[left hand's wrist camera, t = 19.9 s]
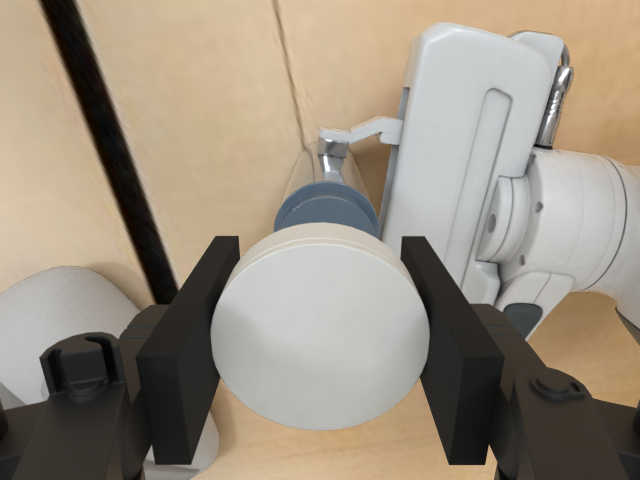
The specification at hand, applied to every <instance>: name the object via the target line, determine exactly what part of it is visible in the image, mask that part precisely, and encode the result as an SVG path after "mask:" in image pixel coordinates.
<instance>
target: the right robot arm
mask: <svg viewBox="0 0 640 480" xmlns="http://www.w3.org/2000/svg"><path fill="white" fill-rule="evenodd" d="M560 58H561V66H558V64H559V61H560ZM569 63H570V56H569V51H568V48H567V46H566V45H565V43H564V42H563V40H562V39H561V38H559V37H557V36H556V35H553V34H550V33H543V32H536V31H529V30H522V31H517V32H515V33H512V34H510V35H509V36H507V37H505V36H502V35H499V34H496V33H493V32H489V31H486V30H482V29H478V28H474V27H470V26H466V25H461V24H456V23H450V22H438V23H434V24H432V25H430V26H428V27H426V28H425V29H424V30H422V31H421V32H420V33H419V34H417V35H416V36H415V37H414V38H413V39H412V41H411V44H410V48H409V54H408V59H407V65H406V70H405V76H404V81H403V87H402V92H401V97H400V103H399V108H398V114H397V118H394V117H386V116H376V117H374V118H372V119H369V120H367V121H365V122H362V123H360V124H358V125H355V126H353V127H351V128H349V130H343V129H335V128H328V127H320V130H319V137H318V146H317V154H319V155H324V156H329V155H331V154H333V155H334V156H335V157H339V158H346V157H347V151H348V145H350V144H353V143H355V142H358V141H360V140H362V139H365V138H367V137H370V136H372V135H375V134H376V138H377V139H378V140H379V141H380V142H381V143H386V144H392V147H391V152H390V158H389V163H388V169H387V174H386V179H385V185H384V190H383V196H382V201H381V207H380V212H379V218H378V222H379V239H378V240H380V241H381V242H383V243H384V244H385V245H387V246H388V247H389V248H390V249H391V250H392V251H393V252H394V253H395V254H396V255H397V256H398V257H399V259H400V255H401V241H402V236H425V237H426V239H427V240H428V242H429V243H430V245H431V246H432V248H433V249H434V251H435V252H436V254H437V255H438V257H439V258H440V260H441V261H442V263H443V264H444V266H445V267H446V269H447V270H448V272H449V273H450V275H451V276H452V278H453V279H454V281H455V282H456V284H457V285H458V287H459V288H460V290H461V291H462V293H463V294H464V296H465V297H466V299H467V300H468V302H469V303H470V304H491V305H492V306H494V307H495V308H497V309H498V310H500V311H501V312H503V313H505V315H506V316H507V317H508V319H509V320H510V321H511V322H512V324H513V325H514V327H516V329H517V330H518V331H519V332H520V334H521V337H523V338H524V339H525V340H526V341H527V340H528V339H529V338H530V336H531V335H532V334H533V332H534V331H535V330H536V329H537V327H538V326H539V325H540V324H541V322H542V321H543V320H544V319H545V318H546V316H547V315H548V314H549V313H550V312H551V311H552V310H553V309H554V307H555V306H556V305H557V304H558V303H559V302H560V301H561V300H562V299H563V298H564V297H565V296H566V295H567V294H568V293H577V292H598V293H602V294H605V295H607V296H609V297H611V298H612V299H614V300H615V302H616V303H617V307H615V310H616V312H617V314H618V316H619V317H620V319H621V321H622V322H623V324H624V325H625V327H626V328H627V329H628V331H629V332H630V333H631V335H632V336H633V337H634V339H635V340H636V341H637V343H638V344H639V345H640V165H626V164H622V163H621V162H619V161H617V160H614V159H612V158H609V157H607V156H603V155H598V154H591V153H583V152H575V151H568V150H560V149H554V148H552V145H553V142H554V139H555V135H556V132H557V129H558V126H559V122H560V118H561V116H560V115H561V113H562V111H561V110H562V107H563V106H562V105H563V103H564V100H565V97H566V94H567V92H569V89H570V87H571V84H572V81H573V75H574V68H573V67H570V66H569Z"/></svg>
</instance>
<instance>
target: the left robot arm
mask: <svg viewBox="0 0 640 480" xmlns="http://www.w3.org/2000/svg"><path fill="white" fill-rule="evenodd" d="M239 260H240V251H239V237H238V236H215V238H214V239H213V241H212V242H211V244H210V245H209V247H208V248H207V250H206V251H205V253H204V254H203V256H202V257H201V259H200V260H199V262H198V263H197V265H196V266H195V268H194V269H193V271H192V272H191V274H190V275H189V277H188V278H187V280H186V281H185V283H184V284H183V286H182V287H181V289H180V290H179V292H178V293H177V295H176V296H175V298H174V299H173V301H172V302H171V304H170V305H151V306H149V307H147V308H146V309H144V310H143V311H141V312H140V313H138V314H137V315H136V316H135V317H134V318H133V319H132V321H131V322H130V323H129V324H128V326H127V329H125V330H124V331H123V332H122V333H121V335H120V336H119V339H118V338H116V337H115V336H114V335H112V334H110V333H105V332H87V333H83V334H78V335H74V336H71V337H68V338H66V339H63V340H61V341H58V342H57V343H55V344H54V345H52V346H51V347H49V348H48V349H46V350H45V351H44V353H43V354H42V355H41V356H40V357H39V360H40V363H41V367H42V370H43V374H44V377H45V381H46V385H47V388H48V392H49V397H48V399H47V400H46V401H43V402H39V403H34V404H30V405H25V406H20V407H15V408H11V409H6V410H4V408H3V405H2V402H1V399H0V480H146V479H145V472H144V467H143V463H144V461H145V458H146V456H147V454H148V452H149V450H150V448H151V445H152V450H153V455H154V461H155V465H191V464H192V461H193V458H194V455H195V452H196V449H197V446H198V443H199V440H200V437H201V434H202V431H203V428H204V425H205V422H206V419H207V416H208V413H209V410H210V407H211V404H212V401H213V398H214V395H215V392H216V389H217V386H218V383H219V380H220V377H221V376H220V374H219V372H218V370H217V368H216V366H215V362H214V359H213V353H212V345H211V333H210V328H211V323H212V317H213V314H214V311H215V308H216V305H217V303H218V301H219V298H220V296H221V294H222V292H223V290H224V288H225V285H226V283H227V281H228V279H229V277H230V275H231V273H232V271H233V269H234V267H235V266H236V264H237V263H238V262H239ZM400 260H401V261H402V262H403V264H404V265H405V267H406V269H407V270H408V272H409V274H410V276H411V278H412V280H413V282H414V285H415V287H416V289H417V291H418V294H419V296H420V298H421V300H422V302H423V305H424V307H425V310H426V312H427V317H428V321H429V327H430V338H429V348H428V356H427V361H426V364H425V366H424V369H423V371H422V373H421V375H420V379H421V382H422V385H423V388H424V391H425V394H426V397H427V400H428V403H429V406H430V409H431V412H432V415H433V418H434V421H435V424H436V427H437V430H438V433H439V436H440V439H441V442H442V445H443V448H444V451H445V454H446V457H447V460H448V463H449V465H485V462H486V457H487V451H488V446H489V445H490V447H491V449H492V451H493V454H494V456H495V458H496V460H497V467H496V472H495V477H494V480H640V400H639V403H638V406H637V408H634V407H629V406H624V405H619V404H615V403H610V402H605V401H601V400H597V399H594V398H592V396H591V394H590V393H589V391H588V390H587V389H586V387H585V386H584V385H583V384H582V383H580V382H579V381H578V380H576V379H575V378H574V377H572V376H570V375H568V374H566V373H564V372H561V371H559V370H556V369H552V368H548V367H546V366H545V364H544V363H543V362H542V360H541V359H540V358H539V357H538V355H537V354H536V353H535V352H534V350H533V349H532V348H531V346H530V345H529V344H528V343H527V341H526V340H525V339H524V338H523V337H521V334H520V332H519V331H518V330H517V329H516V327H514V325H513V324H512V322H511V321H510V320H509V319H508V317H507V316H506V315H505V313H503V312H501V311H500V310H498V309H497V308H495V307H494V306H492V305H491V304H470V303H469V302H468V300H467V299H466V297H465V296H464V294H463V293H462V291H461V290H460V288H459V287H458V285H457V284H456V282H455V281H454V279H453V278H452V276H451V275H450V273H449V272H448V270H447V269H446V267H445V266H444V264H443V263H442V261H441V260H440V258H439V257H438V255H437V254H436V252H435V251H434V249H433V248H432V246H431V245H430V243H429V242H428V240H427V239H426V237H425V236H402V241H401V255H400Z"/></svg>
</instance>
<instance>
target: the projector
mask: <svg viewBox="0 0 640 480" xmlns="http://www.w3.org/2000/svg"><path fill="white" fill-rule="evenodd" d="M140 312H141V311H140V310H139V309H138V308H137V307H136V306H135V305H134V304H133V303H132V302H131V301H130V300H129V299H128V298H127V297H126V296H125V295H124V294H123V293H122V292H121V291H120V290H119V289H118V288H117V287H116V286H115V285H113V284H112V283H111V282H110V281H108V280H107V279H106V278H104V277H103V276H102V275H100V274H98V273H96V272H94V271H92V270H90V269H86V268H83V267H77V266H60V267H54V268H51V269H48V270H44V271H42V272H39V273H37V274H34V275H32V276H30V277H28V278H26V279H24V280H22V281H20V282H18V283H17V284H15V285H13V286H11V287H10V288H8V289H7V290H5V291H4V292H2V293H1V294H0V399H1V402H2V405H3V408H4V410H6V409H11V408H15V407H20V406H25V405H30V404H34V403H39V402H43V401H46V400H47V399H48V397H49V392H48V388H47V385H46V381H45V377H44V374H43V370H42V367H41V363H40V360H39V357H40V356H41V355H42V354H43V353H44V351H45V350H46V349H48V348H49V347H51V346H52V345H54V344H55V343H57V342H58V341H61V340H63V339H66V338H68V337H71V336H74V335H78V334H83V333H87V332H105V333H110V334H112V335H114V336H115V337H116V338H118V339H119V336H120V335H121V333H122V332H123V331H124V330H125V329H127V326H128V324H129V323H130V322H131V321H132V319H133V318H134V317H135V316H136V315H137V314H138V313H140ZM219 441H220V439H219V434H218V430H217V427H216V424H215V422H214V420H213V417H212V415H211V413H210V411H209V413H208V416H207V419H206V422H205V425H204V428H203V431H202V434H201V437H200V440H199V443H198V446H197V449H196V452H195V455H194V458H193V461H192V464H191V465H155V461H154V455H153V450H152V445H151V448H150V450H149V452H148V454H147V456H146V458H145V461H144V463H143V467H144V472H145V479H146V480H190V479H191V478H193V477H195V476H196V475H198V474H200V473H201V472H203V471H204V470H206V469H207V468H208V467H209V466H211V465H212V463H213V462H214V461H215V459H216V456H217V453H218V450H219Z"/></svg>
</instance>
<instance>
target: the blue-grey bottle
mask: <svg viewBox="0 0 640 480" xmlns="http://www.w3.org/2000/svg"><path fill="white" fill-rule="evenodd" d="M317 146H318V141H316V142H313V143H311V144H310V145H308V146H307V147H305V148H304V149H303V150H302V152H301V153H300V155H299V156H298V158H297V161H296V164H295V166H294V169H293V172H292V175H291V177H290V180H289V183H288V185H287V188H286V191H285V194H284V196H283V199H282V202H281V204H280V207H279V210H278V213H277V215H276V219H275V223H274V233H275V232H277V231H279V230H282V229H284V228H288V227H291V226H295V225H300V224H306V223H334V224H341V225H345V226H349V227H353V228H356V229H358V230H361V231H364V232H366V233H368V234H370V235H372V236H373V237H375V238H377V239H379V222H378V218H377V215H376V212H375V210H374V207H373V205H372V202H371V200H370V197H369V195H368V192H367V189H366V187H365V184H364V182H363V179H362V177H361V174H360V172H359V169H358V167H357V164H356V162H355V159H354V157H353V155H352V154H351V152H350V151H349V150H348V151H347V157H346V158H339V157H335V156H334V155H333V154H331V155H329V156H324V155H319V154H317Z"/></svg>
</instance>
